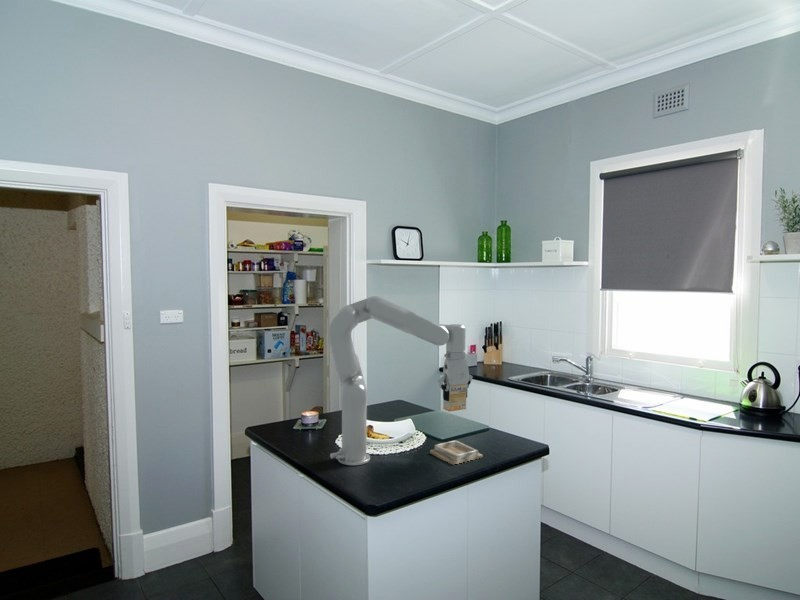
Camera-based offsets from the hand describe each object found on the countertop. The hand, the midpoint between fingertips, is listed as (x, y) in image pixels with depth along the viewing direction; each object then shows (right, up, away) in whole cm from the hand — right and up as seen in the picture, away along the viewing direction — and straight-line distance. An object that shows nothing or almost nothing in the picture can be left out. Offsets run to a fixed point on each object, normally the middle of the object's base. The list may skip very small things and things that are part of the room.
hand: (455, 398), depth 199 cm
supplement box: (0, -5, 0) cm, 5 cm away
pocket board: (+1, -23, +2) cm, 23 cm away
